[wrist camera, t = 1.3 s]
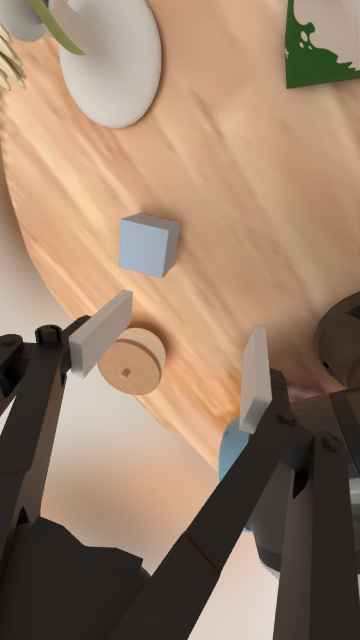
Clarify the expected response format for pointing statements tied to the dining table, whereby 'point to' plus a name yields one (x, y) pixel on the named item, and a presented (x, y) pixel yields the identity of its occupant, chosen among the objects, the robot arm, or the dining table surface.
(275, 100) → the dining table surface
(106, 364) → the lidded jar
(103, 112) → the flower in vase
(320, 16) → the milk carton
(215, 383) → the dining table surface
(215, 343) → the dining table surface
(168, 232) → the block
